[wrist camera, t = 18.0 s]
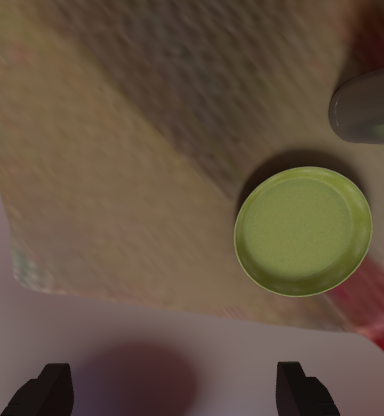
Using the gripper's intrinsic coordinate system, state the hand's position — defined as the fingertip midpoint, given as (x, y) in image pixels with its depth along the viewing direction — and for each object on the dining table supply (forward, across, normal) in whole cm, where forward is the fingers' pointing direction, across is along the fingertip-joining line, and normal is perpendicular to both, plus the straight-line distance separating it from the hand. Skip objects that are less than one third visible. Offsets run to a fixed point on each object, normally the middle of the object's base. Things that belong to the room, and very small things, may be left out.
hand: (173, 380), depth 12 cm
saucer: (+37, -17, +6) cm, 41 cm away
